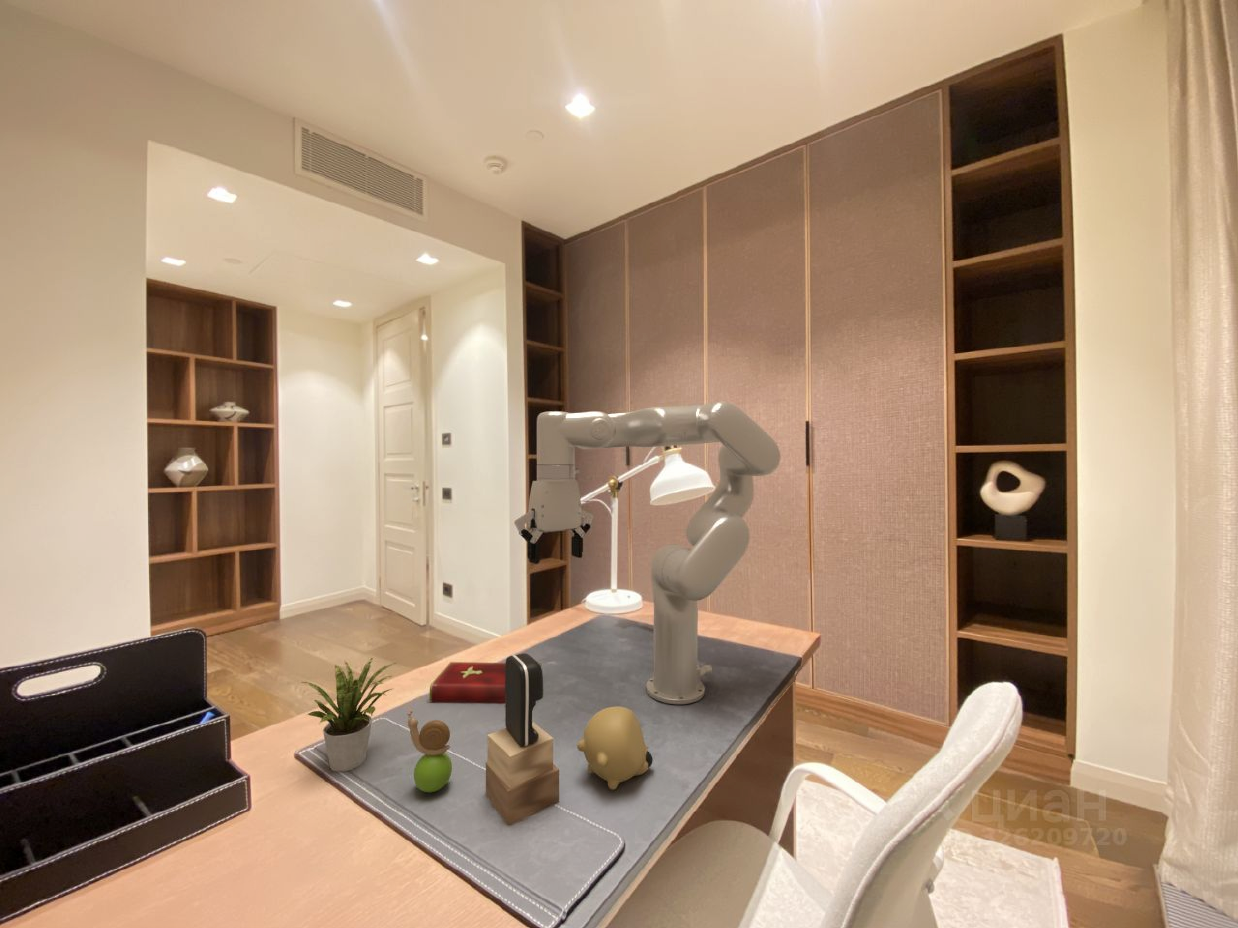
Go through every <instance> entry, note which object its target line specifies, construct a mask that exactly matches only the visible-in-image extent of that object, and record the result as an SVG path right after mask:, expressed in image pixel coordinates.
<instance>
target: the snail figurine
mask: <svg viewBox="0 0 1238 928" xmlns="http://www.w3.org/2000/svg"><path fill="white" fill-rule="evenodd" d="M412 713H413V710H412V709H409V711H408V712H407V716H408V717H409V719H408V721H407V727H408V728H409V732H410V733H409V734H410V739H411V741H412V744H413V746H414V748H415V749H416V750H417V752H419V753H421V754H423V755H422V756H421V757H420V758H419V759H418V760H417V762H416V765H415V766H414V772H413V780H414V784H415V785H416V787H417V788H418V789H419V790H420V791H422V792H424V793H435V792H438V791H440V790H441V789H442V788H443V787H444V786H445V785H447V783H448V782H449V780H450V779H451V775H452V771H453V764H452V760H451V758H450V756H449V755H448V754H447V753H446V752H447V751H448V750H449V749H450V748H451V745H449V744H448V743H449V741H450V738H451V737H450V736H451V731H450V728H449V726H448V725H447V724H446V723H445V722H444V721H442V720H437V719H435V720H430V721H428V722H427V723H425V724H424V725H423V726H422V727H421V729H420V731H419V729H418V723H419V721H418V719H417V718H415V717H412V716H411V715H412ZM411 717H412V718H411Z"/></svg>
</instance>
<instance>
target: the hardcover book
mask: <svg viewBox="0 0 1238 928" xmlns="http://www.w3.org/2000/svg"><path fill="white" fill-rule="evenodd" d="M505 663H506V662H473V661H472V662H469V661H467V662H466V661H450V662H449V663H448V664H447V665H446V666H445V668H444V669H443V670H442V671H441V672H440V674H439V675H438V676H437V677H436V678H434V681H433V682H432V683H431V684H430V686H429V704H430V703H433V704H434V703H436V704H437V703H441V704H442V703H443V704H445V703H446V704H447V703H448V704H505ZM538 663H539V664H540V666H541V667H542V662H541V663H540V662H538Z"/></svg>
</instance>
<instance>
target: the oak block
mask: <svg viewBox="0 0 1238 928" xmlns="http://www.w3.org/2000/svg"><path fill="white" fill-rule="evenodd" d="M532 727H533V728H534V729H535V730H536V731H537V733H538V735H539V737H538V740H537V741H535V742H533V743H531V744H528V745H527V746H520V745H519V744H518V742H517V741H516V740H515V739H514V737H513V736H512V735H511V733H510V732H509V731H508V729H507V728H506V727H505V728H503V729H502V728H501V729H500V730H497V731H494V732H492V733H489V734H487V762H488V766H489V767H490V768H491V769H492V770H493V771H494V773H495V774H496V775H497V776H498V777H499V778H500V779H501V780H502V781H503V782H504V783H505V784H506V785H507V787H508V788H509V789H511V788H514V787H516V786H518V785H520V784H522V783H524V782H526V781H528V780H530V779H533V778H535V777H537V776H539V775H541V774H543V773H545V772H547V771H550V770H552V769H553V764H554V738H553V737H552V736H551V735H550V734H549V733H548V732H547V731H545V730H543V729H542V728H541V727H540V726H538V725H537V724H536V723H535V722H534V721H532Z"/></svg>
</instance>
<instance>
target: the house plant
mask: <svg viewBox="0 0 1238 928" xmlns="http://www.w3.org/2000/svg"><path fill="white" fill-rule="evenodd" d="M372 661H373V657H371V658H370V659H369V660H368V661H367V663H366V664H365V665H364V667H363V669H362V671H361V673H360V674H359V678H355V679H354V672H353V671H352V668H351V666H350V665H349V663H348V662H347V661H346V660H344V664H345V665H344V666H345V668H346V671H347V676H346V674H345V671H344V669H342V668H341V667H340V666H339V665H338V664H334V674H335V675H334V677H335V684H336V686H335V687H336V688H335V689H336V704H337V705H336V704H335V702H334V701H333V700H332V697H331V696H329V694H328V692H326V691H325V690H324V689H323V688H321V687H320V686H318V685H317V684H314V683H311V682H309V681H301V683H304V684H306V685H308V686H310V687H312V688H313V689H314V690H316V691H317V693H316V695H318V696H321V697H323V698H324V700H325V701H326V702H327V703H328V704H329V706H331V708H332V709H333V710H334V711H332V709H330V708H329V707H328V706H327V705H326V704H324V703H323V702H322V701H320V700H318V699H314V702H315V703H316V704H317V706H318V707H319V709H320V710H321V711H320V710H315V711H311V712H309V713H307V714H306V716H307V715H308V716H311V717H317V718H319V719H321V720H320V721H319V723H318V725H320V724H322V723H324V722H328V723H327V724H326V725H325V726H324V727H323V729H322V732H323V738H324V743H325V747H326V748H325V749H326V753H327V759H328V764H329V768H331V769H330V770H331V771H333V772H348V771H351V770H355V769H356V768H358V767H359V766H361V765H362V764H364V763H365V761H366V757H367V751H368V747H369V746H368V745H369V741H370V735H371V734H370V733H371V728H372V724H373V723H372V722H373V719H372V717H373V714H374V713H375V711H376V707H375V706H374V704H375V703H376V702H377V700H379V698H381V697H382V696H383V695H384V696H386V693H387V692H389V691H392V690H393V689H394V688H389V689H386V690H383V691H382V692H374V690H375V689H376V688H377V687H378V686H379V685H381V684H384V683H383V681H384V680H386V679H389V678H391V677H392V675H388V676H387V675H386V676H384V677H382V678H381V679H379V680H378V681H374V680H375V679H376V678H377V677H378V676H379V675H380V674H381V673H382V672H383V671H384V670H386V669H387V668H389V667H391V666H395V665H397V662H394V663H390V664H386V665H384V666H383V667H381V668H380V669H378V670H377V671H375V672H374V673H373V675H371V677H370V678H369V679H368V681H367V683H366V684H365V681H366V678H367V676H368V674H369V671H370V669H371V666H372V665H371V663H372ZM364 684H365V686H364ZM371 685H373V687H371V689H370V691H369V693H368V694H367V696H366V697H365V698H364V699H363V696H364V694H365V693H366V691H368V689H369V687H370V686H371ZM363 686H364V688H363ZM374 697H375V698H374ZM373 698H374V699H373ZM362 699H363V700H362ZM371 699H373V700H372V701H371V702H370V703H369V705H368V707H366V708H365V709H364V710H362V709H363V708H364V706H365V705H366V704H367V703H368V702H369V701H370V700H371ZM361 700H362V701H361ZM360 702H361V703H360ZM335 712H336V713H335ZM367 713H368V714H370V715H368V714H367Z"/></svg>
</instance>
